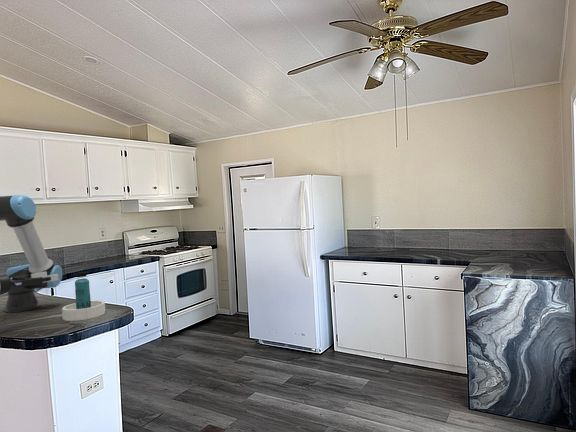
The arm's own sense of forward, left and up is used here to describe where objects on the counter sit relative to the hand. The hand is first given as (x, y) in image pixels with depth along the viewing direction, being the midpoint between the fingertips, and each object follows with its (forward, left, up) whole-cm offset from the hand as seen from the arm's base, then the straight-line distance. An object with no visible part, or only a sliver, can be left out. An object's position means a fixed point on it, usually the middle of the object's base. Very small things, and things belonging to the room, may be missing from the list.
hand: (52, 275), depth 191 cm
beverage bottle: (+3, +12, -20) cm, 24 cm away
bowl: (+3, +12, -21) cm, 24 cm away
